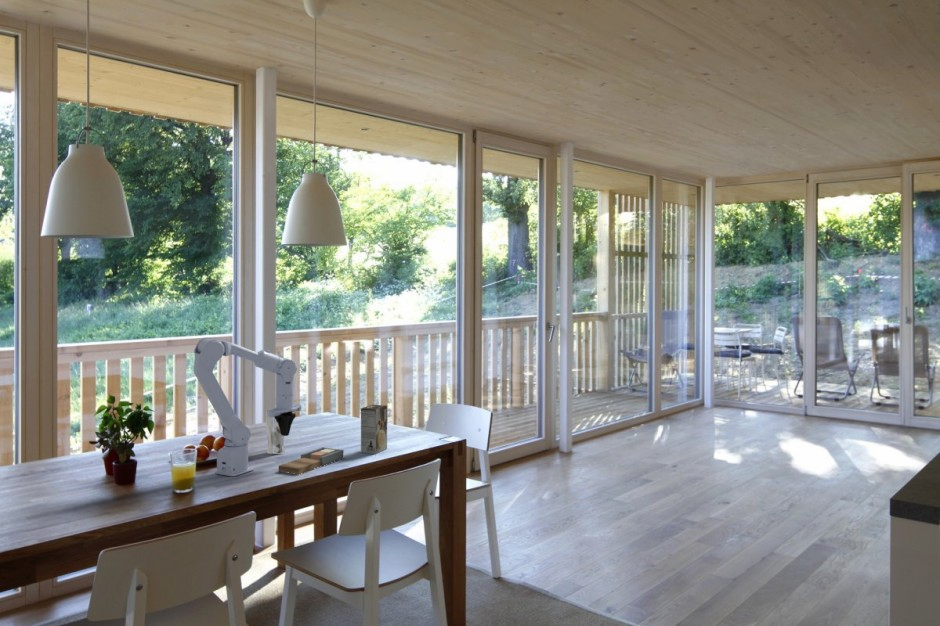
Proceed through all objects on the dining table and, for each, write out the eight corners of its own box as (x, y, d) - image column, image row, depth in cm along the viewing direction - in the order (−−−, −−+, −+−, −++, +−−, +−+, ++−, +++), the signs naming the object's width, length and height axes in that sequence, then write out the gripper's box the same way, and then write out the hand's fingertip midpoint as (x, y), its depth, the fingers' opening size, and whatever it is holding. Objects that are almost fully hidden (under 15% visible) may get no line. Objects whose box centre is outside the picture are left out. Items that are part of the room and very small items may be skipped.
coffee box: (371, 447, 272) (372, 404, 271) (387, 448, 270) (387, 405, 269) (360, 452, 263) (360, 408, 263) (376, 454, 261) (376, 409, 260)
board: (298, 474, 233) (298, 468, 233) (278, 471, 236) (278, 465, 236) (321, 466, 243) (321, 460, 243) (302, 463, 247) (302, 457, 247)
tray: (322, 466, 243) (322, 457, 243) (300, 463, 247) (300, 454, 247) (343, 458, 254) (343, 450, 254) (322, 455, 258) (322, 447, 258)
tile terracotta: (320, 462, 246) (320, 455, 246) (310, 461, 248) (310, 454, 247) (327, 460, 250) (327, 452, 249) (317, 458, 251) (317, 451, 251)
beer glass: (280, 455, 258) (280, 413, 257) (262, 454, 259) (262, 412, 258) (289, 451, 265) (289, 409, 264) (271, 450, 266) (271, 408, 265)
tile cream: (328, 459, 250) (328, 452, 250) (318, 458, 252) (318, 451, 252) (335, 457, 254) (335, 450, 253) (325, 456, 255) (325, 448, 255)
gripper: (280, 398, 236) (280, 440, 236) (308, 392, 249) (308, 432, 249) (262, 397, 239) (262, 438, 239) (291, 391, 252) (291, 430, 252)
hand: (285, 435), depth 245 cm, fingers closed
